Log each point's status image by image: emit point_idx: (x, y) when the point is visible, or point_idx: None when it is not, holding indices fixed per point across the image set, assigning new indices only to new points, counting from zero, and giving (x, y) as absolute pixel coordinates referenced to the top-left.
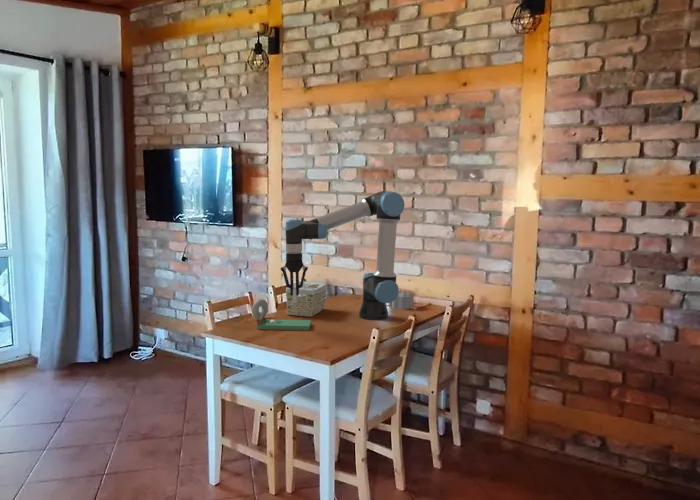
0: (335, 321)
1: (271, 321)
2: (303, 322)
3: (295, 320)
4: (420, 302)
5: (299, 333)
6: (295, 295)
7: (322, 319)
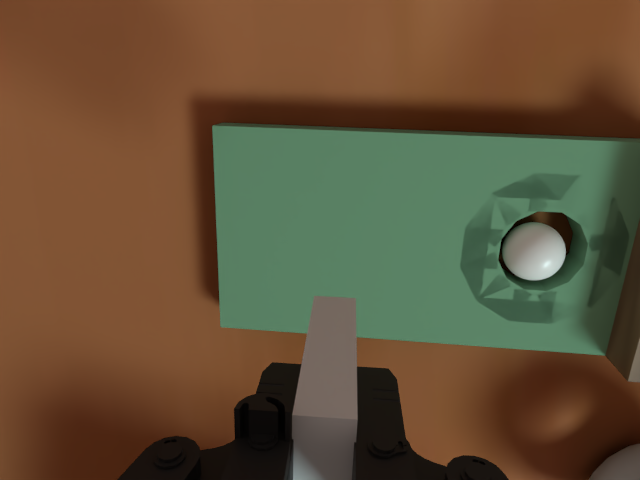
0: (74, 392)
1: (553, 238)
2: (273, 254)
3: None
4: None
5: (293, 12)
6: (315, 345)
7: None
